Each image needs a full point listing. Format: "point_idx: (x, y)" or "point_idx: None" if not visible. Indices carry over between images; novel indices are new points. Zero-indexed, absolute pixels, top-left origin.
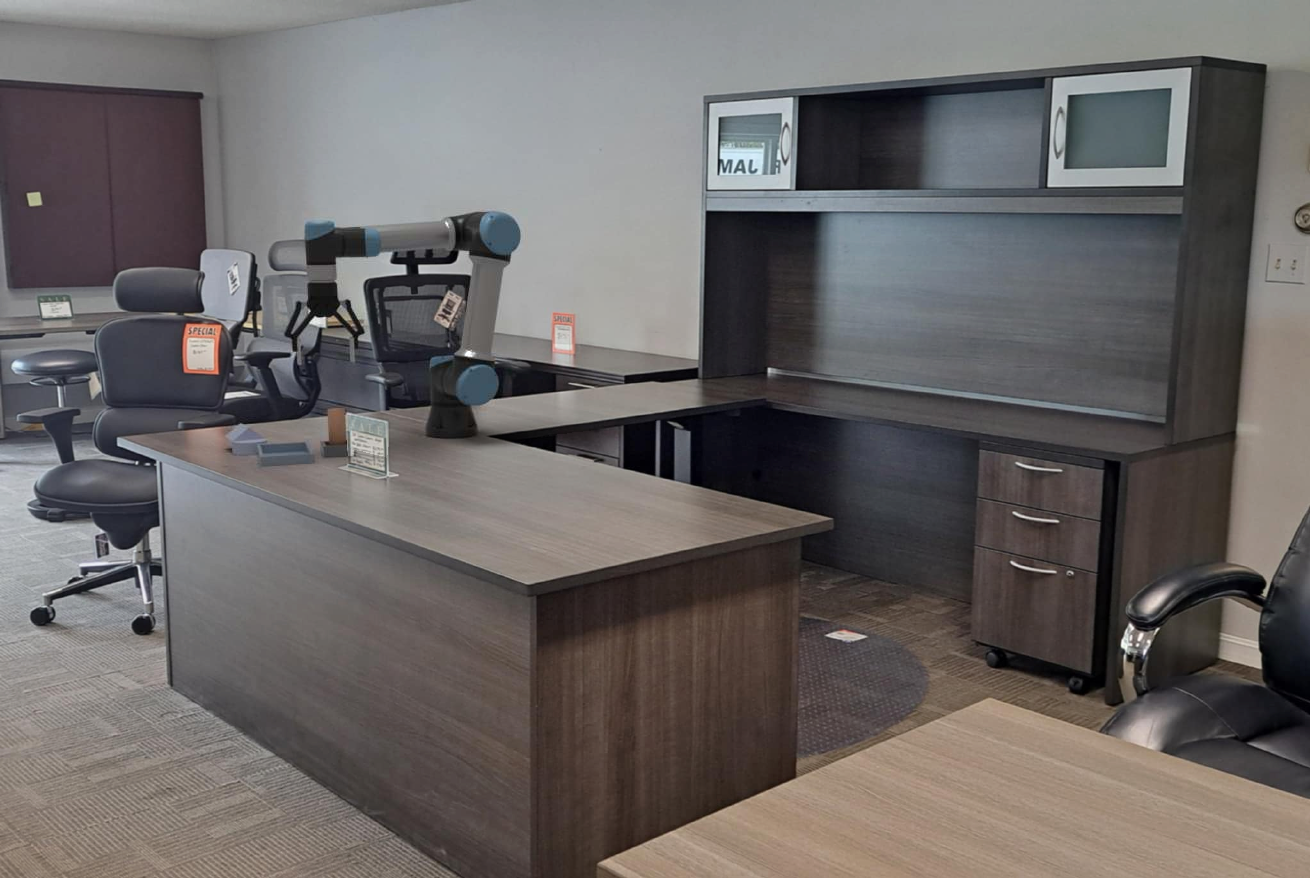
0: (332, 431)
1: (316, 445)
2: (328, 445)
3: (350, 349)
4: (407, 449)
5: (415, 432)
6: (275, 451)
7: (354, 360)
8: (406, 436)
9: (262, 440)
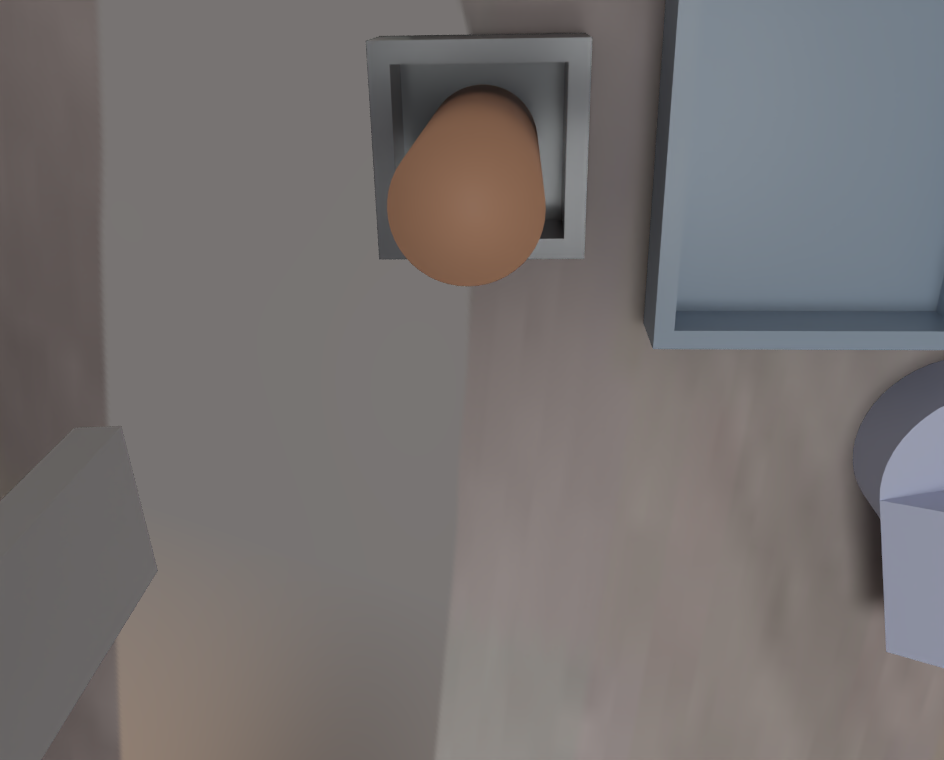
0: (515, 119)
1: (566, 516)
2: None
3: (45, 656)
4: (56, 237)
5: None
6: (848, 313)
7: (67, 443)
8: None
9: (919, 442)
